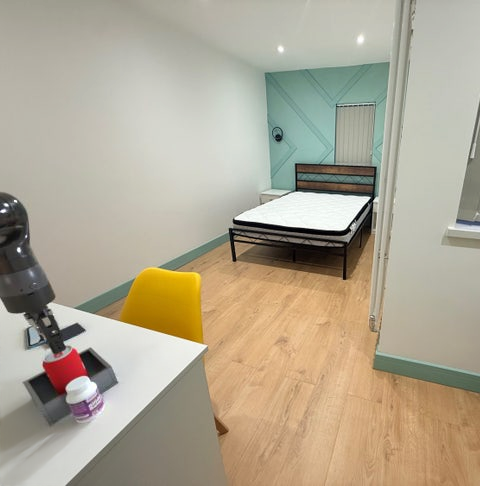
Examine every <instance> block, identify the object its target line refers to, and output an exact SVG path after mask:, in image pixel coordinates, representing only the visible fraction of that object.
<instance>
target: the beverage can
mask: <svg viewBox="0 0 480 486" xmlns="http://www.w3.org/2000/svg"><path fill="white" fill-rule="evenodd" d="M65 346H66V349H65V350H64V351H62V352H60V353H58V354H53V353H52V351H51V350H49V351H48V352H47V353H45V354H44V355H43V357H42V365H41V366H42V368H43V371H45V372H46V373H47V375H48V377H49V379H50V381H51V382H52V384H53V386H54V388H55V390H56V391H57V393H58V395H59V396H60V395H62V394H64V393H65V392H67V391H66V386H67V385H68V384H69V383H70V382H71V381H72V380H74V379H76V378H78V377H81V376H87V377H88V378H90V377H89V375H88V373H87V371H86V369H85V367H84V365H83V363H82V361H81V358H80V356H79V354H78V353H79V352H78V351H77V349H76V348H74V347H72V346H71V345H70V344H69V345H67V344H65Z"/></svg>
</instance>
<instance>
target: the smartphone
mask: <svg viewBox="0 0 480 486" xmlns="http://www.w3.org/2000/svg"><path fill="white" fill-rule="evenodd" d="M52 332H53V333H54V332H55V331H52ZM25 336H26V337H25V338H26V346H27V348H28V350H29V349H30V350H31V349H34V348H37V347H38V346H42V345H44V344H47V343H46V342H45V341H42V340H41V339H40V337H39V335H38V334H37V332H36V331H35V329H34V327H32V325H29V326H28V327H26V328H25Z"/></svg>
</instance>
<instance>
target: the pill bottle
mask: <svg viewBox="0 0 480 486" xmlns="http://www.w3.org/2000/svg"><path fill="white" fill-rule="evenodd" d="M66 391H67V393H68V394H67V396H66V402H67V404H68V406H69V408H70V410H71V411H72V413H71V414H72V415H73V418H74V419H75V421H76V422H77V423H79V424H85V423H88V422H91V421H93V420H95V419H96V418H98V417H99V416H100V414H101V413H103V411H104V409H105V406H106V405H105V404H106V403H105V401H104V399H103V396H102V393H101V394H100V392H99V389H98V387H97V385H96V384H95V383H94V382H91V381H90V379H89V378H88V377H87V376H81V377H78V378H76V379H74V380H72V381H71V382H70V383H69V384H68V385H67V386H66Z"/></svg>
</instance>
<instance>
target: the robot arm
mask: <svg viewBox="0 0 480 486" xmlns="http://www.w3.org/2000/svg"><path fill="white" fill-rule="evenodd" d="M30 231H31V230H30V219H29V213H28V210H27V208H26V207H25V205H24V203H23V202H22V201H21V200H20V199H18V197H16V196H15V195H13V194H11V193H8V192H5V191H0V300H1V302H2V304H3V306H4V308H5V310H6V311H7V312H8V313H9V314H14V315H15V314H16V315H17V314H22V316H23V317H24V319H25V321H27V323H28V325H29V326H32V327H34V329H35V331H36V332H37V334H38V335H39V337H40V339H41V340H42V341H45V342H47V343H48V344H47V343H46V344H47V346H48V345H49V346H48V347H49V349H50V351H52V353H53V354H58V353H60V352H62V351H64V350H65V349H66V346H65V345H66V344H65V343H64V342H65V341H64V342H63V340H62V337H63V333H61V331H60V330H61V329H60V326H59V323H58V321H57V319H56V317H55V314H54V312H53V310H52V309H51V308H49V306H48V305H49V304H51V303H52V302H53V301H54V300H56V297H57V296H56V293H55V291H54V289H53V286H52V285H51V282H50V280H49V278H48V276H47V274H46V272H45V270H44V269H43V267H42V265H41V264H40V262H39V260H38V258H37V256H36V254H35V252H34V250H33V248H32V246H31V232H30ZM52 331H55V332H56V333H55V334H53V332H52Z"/></svg>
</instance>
